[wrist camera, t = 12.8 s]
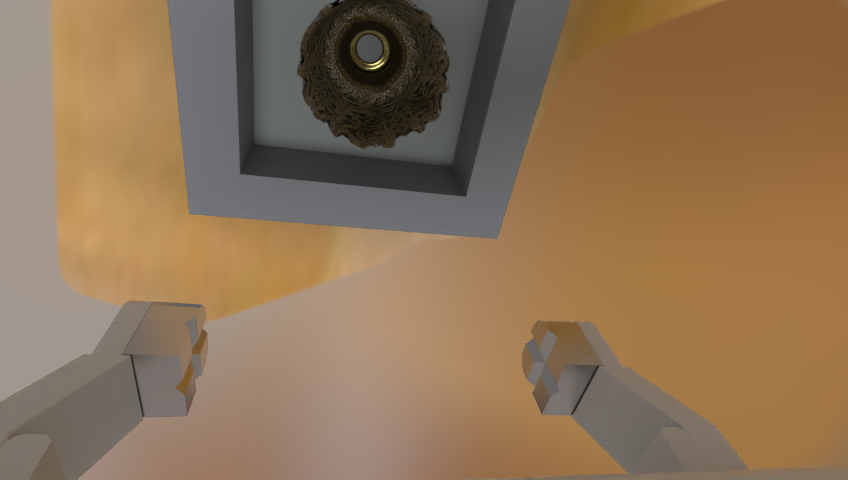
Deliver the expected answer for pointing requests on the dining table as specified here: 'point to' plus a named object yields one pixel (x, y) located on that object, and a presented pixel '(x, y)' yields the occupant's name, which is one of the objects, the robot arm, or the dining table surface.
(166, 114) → the dining table surface
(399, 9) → the wire cup brush
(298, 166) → the gray square tray
